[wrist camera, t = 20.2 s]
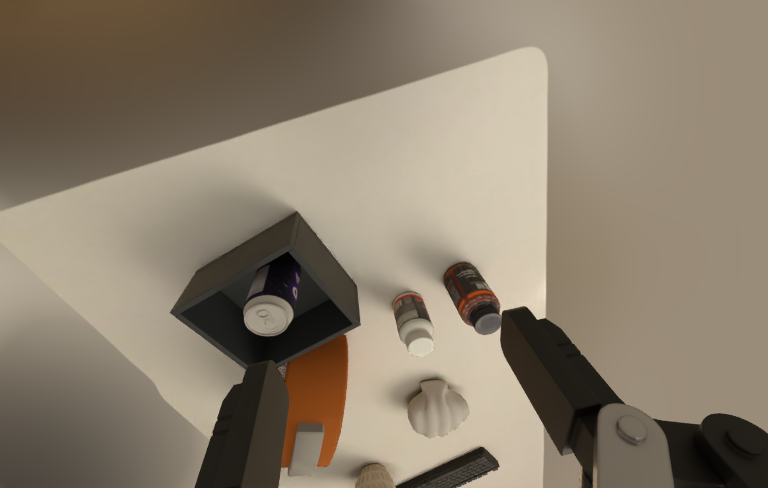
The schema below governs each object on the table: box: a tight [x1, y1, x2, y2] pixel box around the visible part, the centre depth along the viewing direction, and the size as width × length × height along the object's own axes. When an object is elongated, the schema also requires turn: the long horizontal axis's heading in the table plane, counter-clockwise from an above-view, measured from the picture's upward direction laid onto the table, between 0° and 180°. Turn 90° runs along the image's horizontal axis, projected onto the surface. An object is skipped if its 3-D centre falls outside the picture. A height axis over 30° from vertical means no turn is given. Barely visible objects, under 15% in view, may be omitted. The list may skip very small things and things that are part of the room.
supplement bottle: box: [444, 263, 502, 335], centre depth 48 cm, size 6×6×11 cm
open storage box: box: [170, 212, 361, 369], centre depth 44 cm, size 16×18×9 cm
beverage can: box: [243, 252, 302, 336], centre depth 41 cm, size 6×6×12 cm
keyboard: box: [396, 447, 499, 488], centre depth 88 cm, size 35×11×2 cm, turn 123°
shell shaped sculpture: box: [408, 380, 469, 439], centre depth 66 cm, size 13×13×6 cm
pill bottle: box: [393, 292, 434, 357], centre depth 50 cm, size 5×5×10 cm
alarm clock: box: [281, 334, 348, 476], centre depth 52 cm, size 23×9×17 cm, turn 165°
